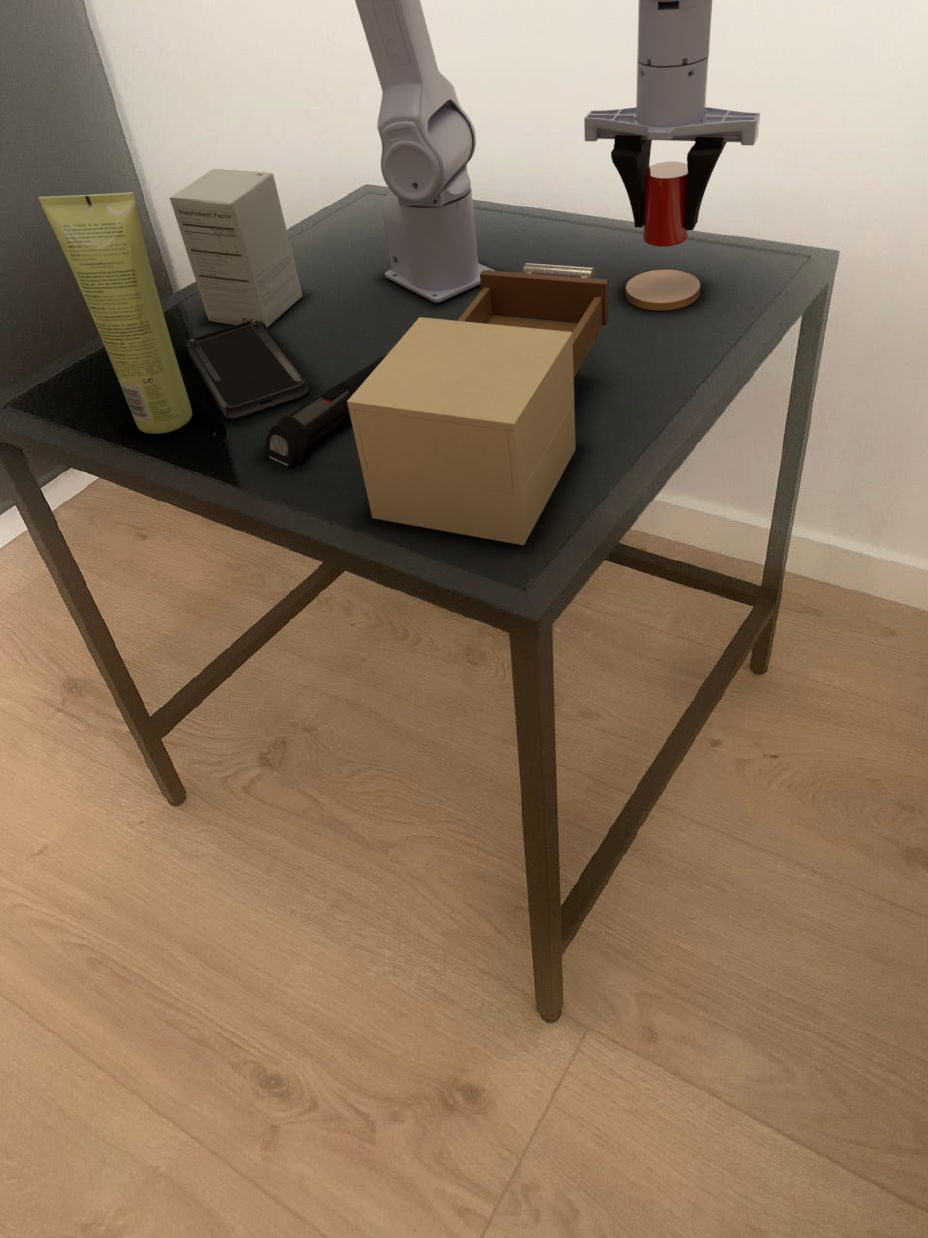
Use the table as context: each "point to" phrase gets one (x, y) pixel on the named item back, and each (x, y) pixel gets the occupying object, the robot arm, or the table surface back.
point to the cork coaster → (662, 290)
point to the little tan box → (467, 427)
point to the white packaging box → (238, 246)
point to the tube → (123, 302)
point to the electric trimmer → (314, 419)
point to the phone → (246, 369)
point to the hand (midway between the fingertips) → (665, 224)
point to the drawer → (545, 302)
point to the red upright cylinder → (665, 204)
